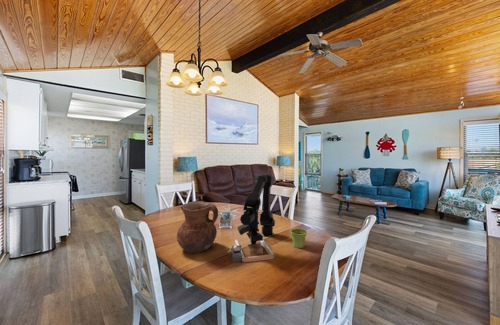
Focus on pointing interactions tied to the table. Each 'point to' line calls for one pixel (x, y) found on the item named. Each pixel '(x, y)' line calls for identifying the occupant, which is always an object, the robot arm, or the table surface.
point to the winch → (236, 253)
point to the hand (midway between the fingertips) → (252, 247)
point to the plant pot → (298, 237)
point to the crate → (255, 249)
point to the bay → (257, 258)
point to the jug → (197, 226)
